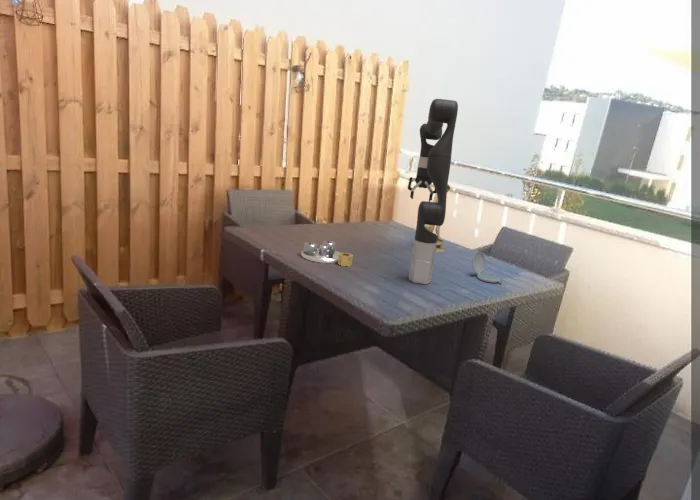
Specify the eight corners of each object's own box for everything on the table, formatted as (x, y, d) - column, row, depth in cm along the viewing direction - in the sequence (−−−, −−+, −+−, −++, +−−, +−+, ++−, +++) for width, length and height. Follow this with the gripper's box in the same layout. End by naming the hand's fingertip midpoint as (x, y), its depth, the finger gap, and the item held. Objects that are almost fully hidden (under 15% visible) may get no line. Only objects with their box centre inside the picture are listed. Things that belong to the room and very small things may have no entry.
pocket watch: (484, 250, 216) (513, 260, 205) (480, 273, 219) (508, 283, 208) (471, 252, 209) (500, 262, 199) (467, 275, 212) (495, 286, 201)
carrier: (341, 265, 206) (342, 251, 204) (296, 259, 207) (297, 245, 206) (346, 254, 225) (348, 241, 223) (305, 248, 227) (306, 235, 225)
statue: (443, 254, 246) (454, 187, 237) (410, 248, 251) (420, 182, 242) (447, 247, 262) (457, 184, 253) (416, 241, 267) (426, 179, 257)
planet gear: (350, 267, 205) (352, 257, 204) (337, 265, 206) (338, 255, 205) (352, 263, 211) (353, 253, 210) (339, 261, 211) (340, 252, 210)
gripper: (410, 165, 225) (405, 199, 229) (440, 169, 223) (435, 203, 227) (411, 164, 232) (406, 197, 236) (440, 168, 230) (435, 201, 234)
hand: (420, 200), depth 231 cm, fingers open, 8 cm apart
